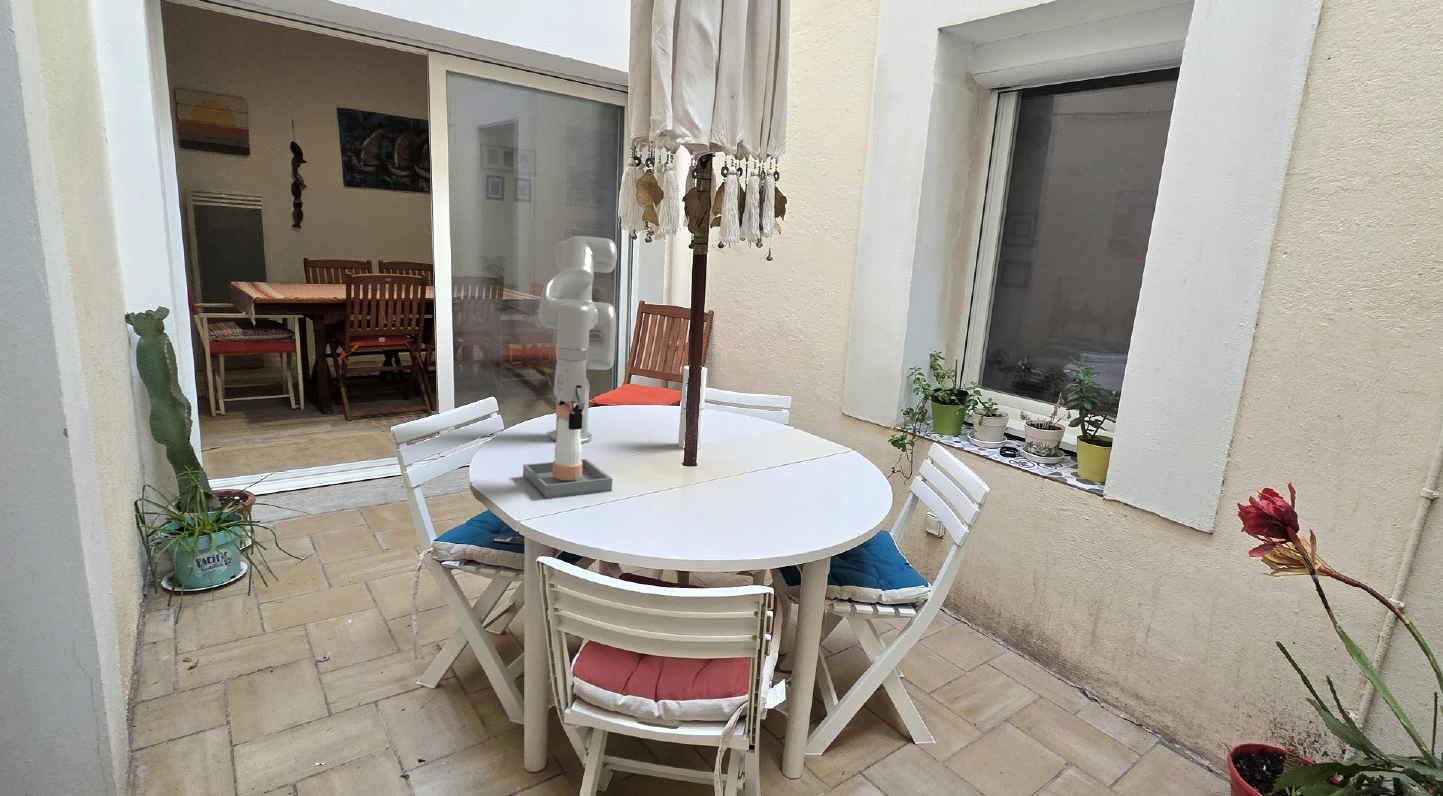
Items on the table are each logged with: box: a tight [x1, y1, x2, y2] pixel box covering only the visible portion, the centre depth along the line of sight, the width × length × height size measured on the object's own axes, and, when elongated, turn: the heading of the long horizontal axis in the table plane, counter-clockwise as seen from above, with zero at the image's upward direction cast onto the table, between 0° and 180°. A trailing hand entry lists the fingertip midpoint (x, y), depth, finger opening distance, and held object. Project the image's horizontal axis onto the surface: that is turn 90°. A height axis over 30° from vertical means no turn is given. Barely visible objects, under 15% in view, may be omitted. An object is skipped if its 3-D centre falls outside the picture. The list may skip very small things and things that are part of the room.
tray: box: [522, 458, 613, 500], centre depth 176 cm, size 17×17×3 cm
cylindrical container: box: [677, 365, 708, 449], centre depth 217 cm, size 7×7×25 cm
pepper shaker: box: [552, 403, 585, 480], centre depth 174 cm, size 7×7×19 cm
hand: (569, 424), depth 174 cm, fingers closed on pepper shaker, 7 cm apart
